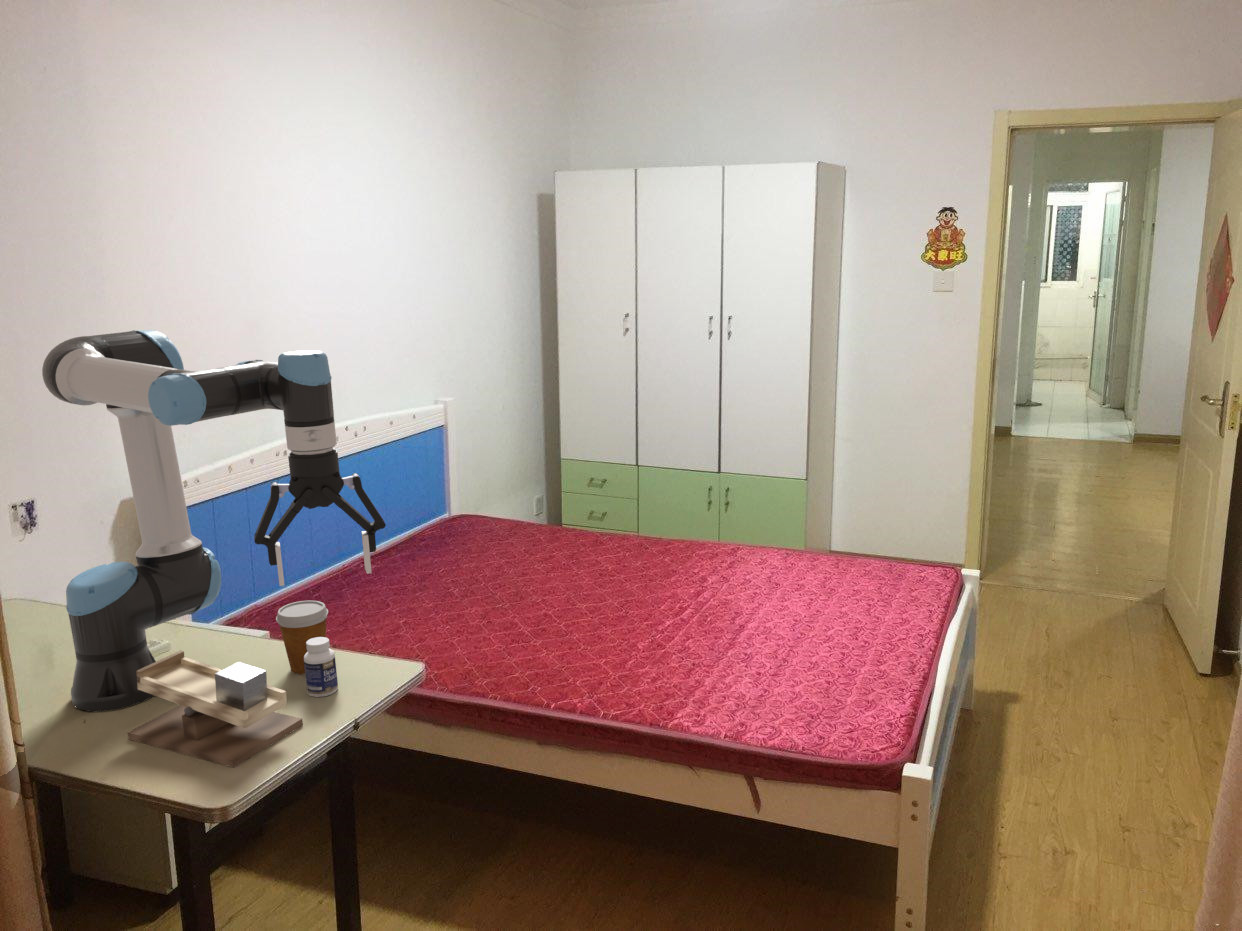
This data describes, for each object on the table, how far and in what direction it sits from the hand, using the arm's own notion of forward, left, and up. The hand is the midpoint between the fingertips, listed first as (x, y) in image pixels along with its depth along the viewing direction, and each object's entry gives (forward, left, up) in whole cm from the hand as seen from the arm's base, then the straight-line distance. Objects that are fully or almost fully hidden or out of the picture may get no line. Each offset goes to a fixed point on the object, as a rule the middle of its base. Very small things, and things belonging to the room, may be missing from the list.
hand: (325, 577), depth 165 cm
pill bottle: (-12, +9, -26) cm, 30 cm away
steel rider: (-11, -10, -19) cm, 24 cm away
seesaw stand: (-18, -10, -26) cm, 33 cm away
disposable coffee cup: (-22, +16, -26) cm, 38 cm away
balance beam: (-18, -10, -20) cm, 29 cm away
